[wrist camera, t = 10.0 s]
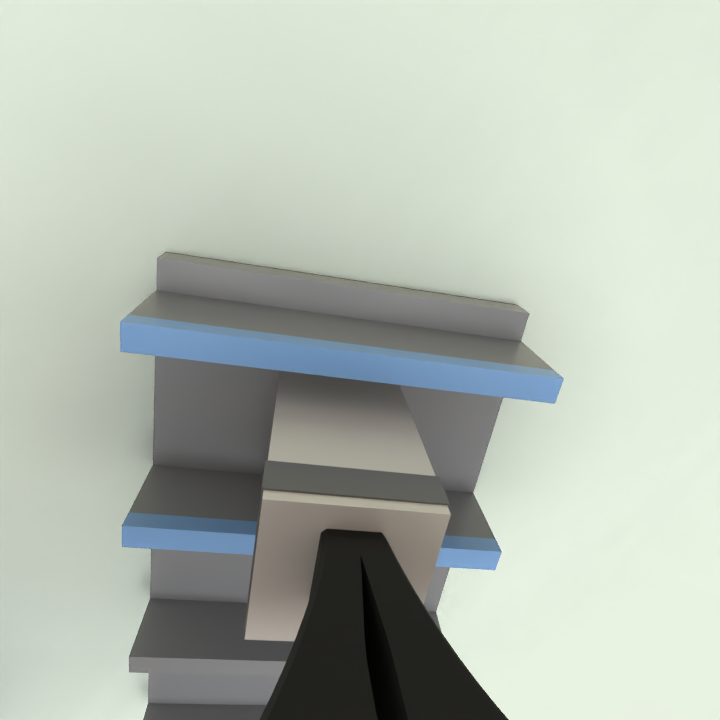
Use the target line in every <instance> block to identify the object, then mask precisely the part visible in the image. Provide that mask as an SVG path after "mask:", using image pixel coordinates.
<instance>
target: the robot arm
mask: <svg viewBox="0 0 720 720" xmlns="http://www.w3.org/2000/svg"><path fill="white" fill-rule="evenodd" d="M260 720H508V719H507V717H506V716H505V715H504V714H503V713H502V712H501V710H500V709H499V708H498V707H497V706H496V704H495V703H494V702H493V701H492V700H491V698H490V697H489V696H488V695H487V693H486V692H485V691H484V690H483V688H482V687H481V686H480V685H479V683H478V682H477V681H476V680H475V678H474V677H473V676H472V674H471V673H470V672H469V670H468V669H467V668H466V666H465V665H464V664H463V662H462V661H461V660H460V658H459V657H458V655H457V654H456V653H455V651H454V650H453V648H452V647H451V645H450V644H449V643H448V641H447V640H446V638H445V637H444V635H443V634H442V632H441V631H440V629H439V628H438V626H437V625H436V623H435V622H434V620H433V619H432V617H431V616H430V614H429V612H428V611H427V609H426V608H425V606H424V604H423V603H422V601H421V600H420V598H419V596H418V595H417V593H416V592H415V590H414V588H413V586H412V585H411V583H410V581H409V580H408V578H407V576H406V574H405V573H404V571H403V569H402V567H401V565H400V564H399V562H398V560H397V558H396V556H395V554H394V553H393V551H392V549H391V547H390V545H389V543H388V541H387V539H386V537H385V536H384V535H383V533H382V532H369V531H354V530H341V529H325V530H324V531H322V532H321V535H320V540H319V546H318V552H317V557H316V563H315V568H314V574H313V579H312V585H311V590H310V596H309V602H308V605H307V608H306V611H305V614H304V617H303V619H302V622H301V625H300V627H299V630H298V633H297V636H296V638H295V641H294V644H293V646H292V649H291V651H290V654H289V656H288V659H287V661H286V663H285V666H284V668H283V670H282V673H281V675H280V677H279V679H278V682H277V684H276V686H275V688H274V691H273V693H272V695H271V697H270V699H269V701H268V703H267V705H266V707H265V709H264V711H263V713H262V715H261V718H260Z"/></svg>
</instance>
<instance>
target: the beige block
mask: <svg viewBox="0 0 720 720" xmlns="http://www.w3.org/2000/svg"><path fill="white" fill-rule="evenodd" d="M449 505H450V503H449V500H448V498H447V495H446V493H445V490H444V488H443V485H442V483H441V480H440V478H439V476H435V473H434V471H433V468H432V466H431V463H430V461H429V458H428V456H427V453H426V450H425V448H424V445H423V443H422V440H421V438H420V435H419V433H418V430H417V428H416V425H415V423H414V420H413V418H412V415H411V413H410V410H409V408H408V405H407V402H406V400H405V397H404V395H403V392H402V390H401V387H400V385H396V384H388V383H379V382H371V381H363V380H354V379H346V378H338V377H329V376H321V375H313V374H304V373H296V372H288V371H280V375H279V382H278V390H277V397H276V404H275V411H274V418H273V426H272V433H271V440H270V447H269V454H268V460H265V467H264V473H263V480H262V487H261V495H260V503H259V511H258V519H257V527H256V535H255V543H254V551H253V559H252V567H251V575H250V584H249V592H248V600H247V608H246V616H245V624H244V629H245V630H246V632H245V640H270V641H295V638H296V636H297V633H298V630H299V627H300V625H301V622H302V619H303V617H304V614H305V611H306V608H307V605H308V602H309V596H310V590H311V585H312V579H313V574H314V568H315V563H316V557H317V552H318V546H319V540H320V535H321V532H322V531H324V530H325V529H341V530H354V531H369V532H382V533H383V535H384V536H385V537H386V539H387V541H388V543H389V545H390V547H391V549H392V551H393V553H394V554H395V556H396V558H397V560H398V562H399V564H400V565H401V567H402V569H403V571H404V573H405V574H406V576H407V578H408V580H409V581H410V583H411V585H412V586H413V588H414V590H415V592H416V593H417V595H418V596H419V598H420V600H421V601H422V603H423V604H424V602H425V598H426V595H427V592H428V588H429V585H430V582H431V579H432V575H433V572H434V569H435V565H436V562H437V559H438V555H439V552H440V549H441V546H442V542H443V539H444V536H445V532H446V529H447V526H448V522H449V519H450V516H451V514H450V511H449Z"/></svg>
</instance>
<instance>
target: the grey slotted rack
mask: <svg viewBox="0 0 720 720" xmlns="http://www.w3.org/2000/svg"><path fill="white" fill-rule="evenodd" d="M528 316H529V313H528V312H527V311H525V310H524V309H522V308H521V307H520V306H518V305H513V304H507V303H500V302H493V301H487V300H480V299H474V298H467V297H460V296H454V295H447V294H440V293H434V292H427V291H421V290H414V289H407V288H401V287H394V286H387V285H381V284H374V283H368V282H361V281H354V280H348V279H341V278H334V277H328V276H321V275H315V274H308V273H301V272H295V271H288V270H281V269H275V268H268V267H262V266H255V265H248V264H242V263H235V262H228V261H222V260H215V259H208V258H202V257H195V256H189V255H182V254H175V253H169V252H166V253H164V254H163V255H161V256H160V257H158V258H157V291H155V292H154V293H153V294H152V295H151V296H150V297H148V298H147V299H146V300H145V301H144V302H143V303H142V304H140V305H139V306H138V307H137V308H136V309H135V310H133V311H132V312H131V313H130V314H129V315H128V316H127V317H125V318H124V319H123V320H122V321H121V322H120V340H121V352H129V353H137V354H145V355H154V356H155V392H154V441H153V466H152V468H151V470H150V472H149V474H148V476H147V478H146V480H145V482H144V484H143V486H142V488H141V490H140V492H139V493H138V495H137V497H136V499H135V501H134V503H133V505H132V507H131V509H130V511H129V513H128V515H127V517H126V519H125V521H124V523H123V525H122V547H132V548H149V549H151V589H150V600H149V603H148V606H147V609H146V612H145V614H144V617H143V620H142V623H141V625H140V628H139V631H138V634H137V636H136V639H135V642H134V645H133V647H132V650H131V653H130V656H129V672H141V673H149V687H148V705H147V709H146V712H145V716H144V719H143V720H260V718H261V715H262V713H263V711H264V709H265V707H266V705H267V703H268V701H269V699H270V697H271V695H272V693H273V691H274V688H275V686H276V684H277V682H278V679H279V677H280V675H281V673H282V670H283V668H284V666H285V663H286V661H287V659H288V656H289V654H290V651H291V649H292V646H293V644H294V641H270V640H245V632H246V630H245V629H244V624H245V616H246V608H247V600H248V592H249V584H250V575H251V567H252V559H253V551H254V543H255V535H256V527H257V519H258V511H259V503H260V495H261V487H262V480H263V473H264V467H265V460H268V454H269V447H270V440H271V433H272V426H273V418H274V411H275V404H276V397H277V390H278V382H279V375H280V371H288V372H296V373H304V374H313V375H321V376H329V377H338V378H346V379H354V380H363V381H371V382H379V383H388V384H396V385H400V387H401V390H402V392H403V395H404V397H405V400H406V402H407V405H408V408H409V410H410V413H411V415H412V418H413V420H414V423H415V425H416V428H417V430H418V433H419V435H420V438H421V440H422V443H423V445H424V448H425V450H426V453H427V456H428V458H429V461H430V463H431V466H432V468H433V471H434V473H435V476H439V478H440V480H441V483H442V485H443V488H444V490H445V493H446V495H447V498H448V500H449V503H450V505H449V511H450V514H451V516H450V519H449V522H448V526H447V529H446V532H445V536H444V539H443V542H442V546H441V549H440V552H439V555H438V559H437V562H436V565H435V569H434V572H433V575H432V579H431V582H430V585H429V588H428V592H427V595H426V598H425V602H424V606H425V608H426V609H427V611H428V612H429V614H430V616H431V617H432V619H433V620H434V622H435V623H436V625H437V626H438V628H439V629H440V625H439V622H438V618H437V614H436V610H437V607H438V603H439V600H440V597H441V594H442V591H443V587H444V584H445V581H446V578H447V575H448V571H449V568H450V567H454V568H470V569H486V570H495V569H496V566H497V563H498V561H499V558H500V555H501V550H500V548H499V545H498V543H497V541H496V539H495V537H494V535H493V533H492V531H491V529H490V527H489V525H488V523H487V521H486V519H485V517H484V514H483V512H482V510H481V508H480V506H479V504H478V502H477V500H476V498H475V496H474V494H473V492H474V488H475V485H476V482H477V479H478V476H479V472H480V469H481V466H482V463H483V460H484V457H485V453H486V450H487V447H488V444H489V441H490V437H491V434H492V431H493V428H494V425H495V421H496V418H497V415H498V412H499V409H500V405H501V402H502V399H503V397H505V398H513V399H522V400H530V401H538V402H547V403H555V402H556V399H557V396H558V393H559V390H560V388H561V385H562V382H563V378H562V377H561V376H560V375H559V374H558V373H557V372H555V371H554V370H553V369H552V368H551V367H550V366H549V365H547V364H546V363H545V362H544V361H543V360H542V359H541V358H539V357H538V356H537V355H536V354H535V353H534V352H533V351H531V350H530V349H529V348H528V347H527V346H526V345H525V344H523V343H522V342H521V338H522V335H523V332H524V329H525V326H526V322H527V319H528ZM440 631H441V629H440Z"/></svg>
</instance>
